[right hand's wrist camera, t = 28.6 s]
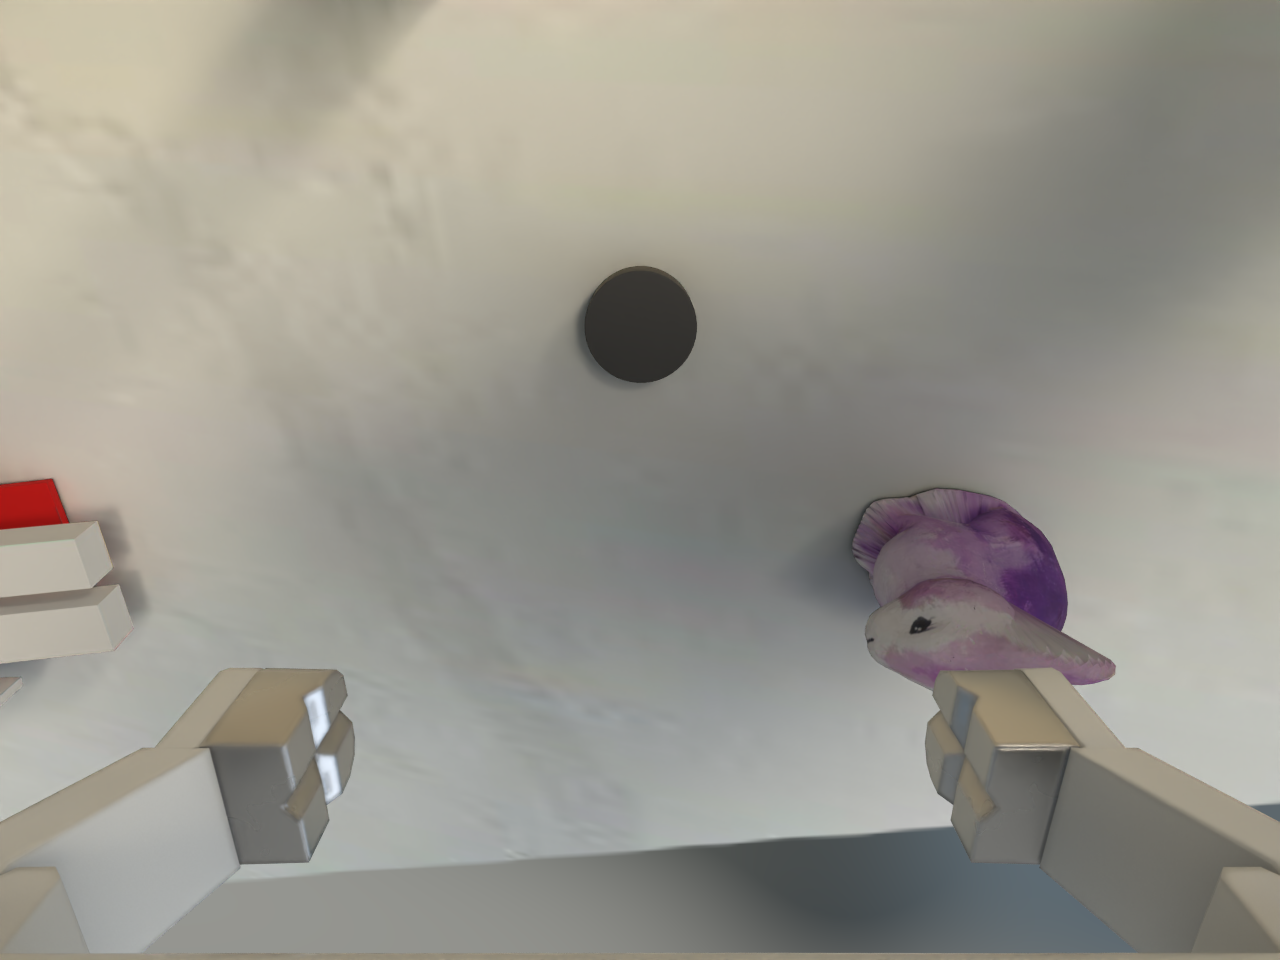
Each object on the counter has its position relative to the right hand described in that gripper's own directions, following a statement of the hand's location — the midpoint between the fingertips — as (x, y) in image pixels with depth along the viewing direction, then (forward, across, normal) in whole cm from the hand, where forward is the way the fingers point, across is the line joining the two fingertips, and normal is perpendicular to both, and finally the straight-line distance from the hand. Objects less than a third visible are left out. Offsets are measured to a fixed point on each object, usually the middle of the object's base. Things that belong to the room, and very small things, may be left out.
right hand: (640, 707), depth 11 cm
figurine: (+29, -16, +13) cm, 36 cm away
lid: (+28, 0, 0) cm, 28 cm away
